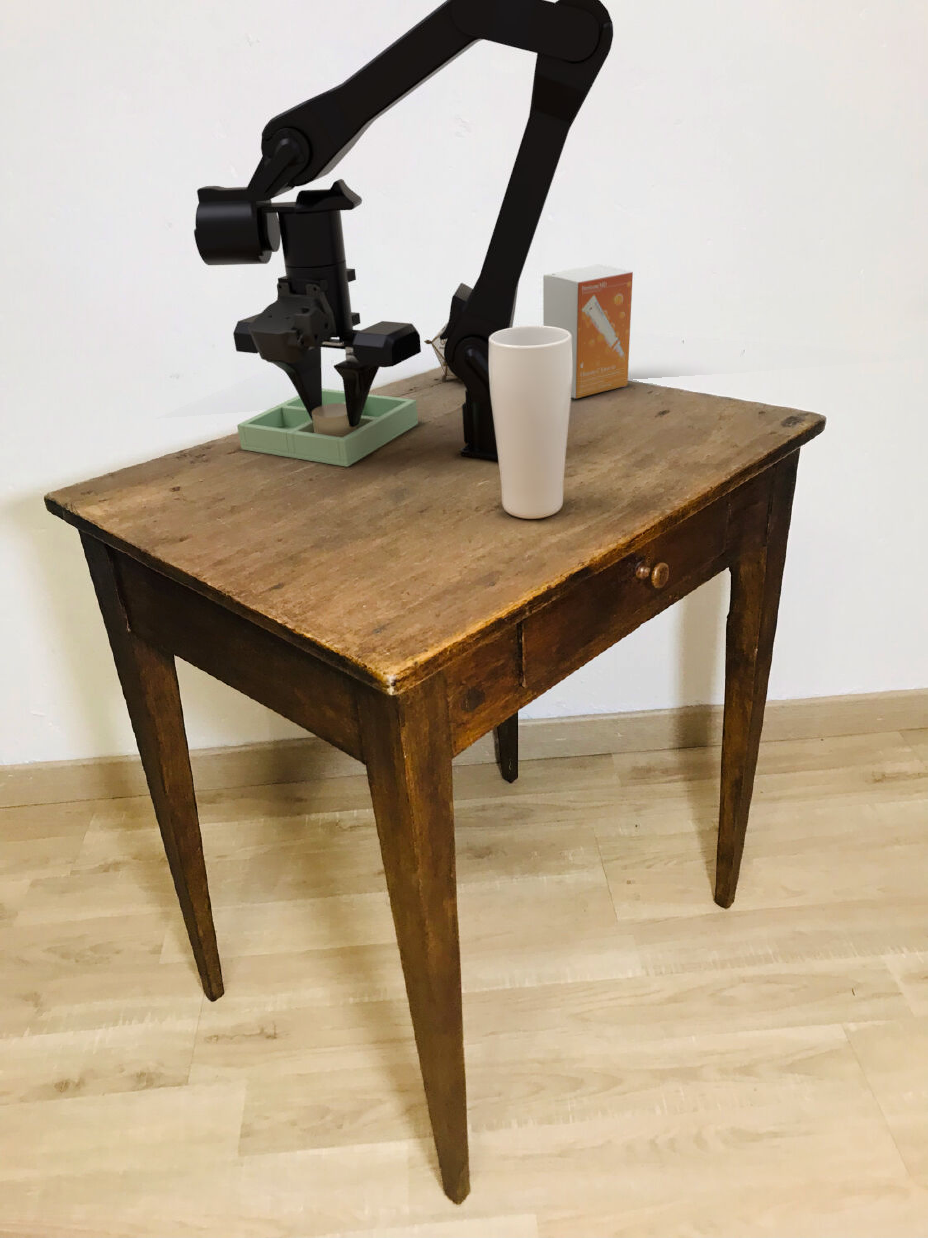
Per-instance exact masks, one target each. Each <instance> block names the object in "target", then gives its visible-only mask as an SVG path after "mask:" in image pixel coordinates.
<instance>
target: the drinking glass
mask: <svg viewBox="0 0 928 1238" xmlns="http://www.w3.org/2000/svg"><path fill="white" fill-rule="evenodd" d="M488 361H489V385H490V396H491V405H492V413H493V421H494V428H495V436H496V445H497V453H498V460H497V461H498V467H499V468H498V469H499V477H500V488H501V489H500V490H501V491H500V493H501V505H502V508H503V509H504V511H505V512H506V513H508V514H509V515H511V516H513V517H515V518H520V519H527V520H532V519H533V520H535V519H543V518H547V517H550V516H553V515H555V514H557V513H558V512H559V511H560V510H561V509H562V507H563V504H564V483H565V482H564V481H565V471H566V469H565V468H566V458H567V446H568V438H569V437H568V435H569V426H570V416H571V405H572V397H571V394H572V372H573V362H572V336H571V333H570V332H568V331H567V330H565V329H561V328H557V327H551V326H543V325H522V326H521V325H520V326H513V327H512V328H507V329H503V330H500V331H497V332H495V333H493V334H492V335H490V337H489V355H488Z"/></svg>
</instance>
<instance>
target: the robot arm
mask: <svg viewBox="0 0 928 1238" xmlns="http://www.w3.org/2000/svg"><path fill="white" fill-rule="evenodd" d="M613 38H614V25H613V20H612V18H611V15H610V12H609V9H607V7H606V6H605V5H604V4H603V2H602V1H601V0H556V1H555V2H553V1H550V0H445V1H444V2H442V3H441V4H440V5H439V6H437V7H436V8H435V9H434V10H433V11H431V12H430V13H429V14H428V15H426V16H425V17H424V18H423V19H421V20H420V21H419V22H418V23H416V24H415V25H414V26H413V27H411V28H410V29H408V30H407V31H406V32H405V33H404V34H403V35H401V36H400V37H399V38H397V39H396V40H395V41H393V42H392V43H391V44H390V45H388V46H387V47H386V48H384V49H383V50H382V51H381V52H380V53H378V54H377V55H376V56H375V57H373V58H372V59H371V60H370V61H368V62H367V63H366V64H365V65H364V66H362V67H360V69H359V70H357V71H356V72H354V73H353V74H352V75H350V77H348V78H347V79H345V80H344V81H343V82H342V83H340V84H338V85H336V86H334V87H332V88H330V89H328V90H326V91H324V92H322V93H320V94H317V95H315V96H313V97H311V98H309V99H306V100H304V101H302V102H301V103H298V104H296V105H295V106H293V107H291V108H289V109H286V110H285V111H283V112H281V113H279V114H277V115H275V116H273V117H272V118H271V119H270V120H269V121H268V122H267V123H266V125H264V127H263V130H262V131H261V142H260V150H261V158H260V161H259V162H258V165H257V166H256V169H255V170H254V172H253V174H252V176H251V179H250V181H249V182H248V185H247V186H237V187H235V186H234V187H224V186H220V185H205V186H203V187H199V188H198V189H197V190H196V194H197V199H198V204H197V206H196V210H195V211H196V212H195V220H194V221H195V223H194V224H195V228H194V229H193V236H194V241H195V246H196V248H197V251H198V254H199V256H200V258H201V260H202V261H203V263H204V264H206V265H207V266H235V265H239V266H240V265H267V264H268V263H269V262H270V261H271V258H272V255H273V253H278V251H279V250H280V248H282V255H283V261H284V270H285V275H284V276H280V277H278V278H277V284H276V290H277V298H276V300H275V301H274V302H272V303H270V304H269V305H267V306H266V308H264V309H263V311H261V312H260V313H257V314H254V315H252V316H249V317H246V318H243V319H241V320H238V321H237V322H236V326H235V327H234V330H233V332H232V334H233V335H232V336H233V342H234V346H235V351H236V352H240V353H247V354H248V353H249V354H258V355H259V357H260V359H261V360H263V361H265V362H266V363H269V364H270V363H271V364H273V365H275V366H276V367H278V368H279V369H281V370H282V371H283V372H284V373H285V374H286V376H287V377H288V378H289V380H290V382H291V384H292V385H293V387H294V389H295V391H296V392H297V396H298V395H299V396H300V398H301V400H302V402H303V404H304V406H305V408H306V410H307V412H308V414H309V416H310V418H311V420H312V421H313V419H312V411H313V409H315V408H317V407H319V406H322V388H323V381H322V380H323V377H322V376H323V375H322V348H326V349H335V350H345V355H344V356H345V360H343V361H340V362H338V363H336V364H334V365H333V369H334V370H335V371H336V372H337V373H338V375H339V376H340V377H341V378H342V384H343V391H344V393H345V402H346V410H347V416H348V420H349V425H350V426H351V427H355V426H357V425H358V424H359V422H360V419H361V415H362V412H363V409H364V406H365V403H366V400H367V397H368V394H370V391H371V388H372V386H373V383H374V380H375V378H376V376H377V373H378V372H379V369H380V368H391V367H394V366H397V365H398V364H401V363H402V362H404V361H407V360H409V359H410V358H412V357H415V356H416V355H419V354H420V353H422V346H421V345H422V344H421V335H420V333H419V330H418V329H417V328H416V327H415V325H414V324H413V323H411V322H410V323H409V322H401V321H399V322H397V321H385V320H381V321H379V322H377V323H374V324H372V325H369V326H367V327H365V328H363V329H354V327H355V326H358V325H360V324H361V314H360V312H355V311H354V312H352V305H351V296H350V285H349V283H351V282H354V281H356V280H357V275H356V268H348V266H347V258H346V249H345V241H344V240H345V239H344V232H343V231H344V230H343V221H342V220H343V219H342V211H353V210H354V209H356V208H358V207H359V206H360V205H361V204H362V203H363V198H362V197H361V196H360V195H359V194H357V193H356V192H355V191H353V190H352V189H351V188H350V187H349V186H348V185H347V183H346V182H345V180H344V179H342V178H339V179H337V180H335V181H334V182H333V183H332V185H331V187H329V188H325V189H322V188H321V189H301V190H300V191H298V193H297V195H296V199H295V201H282V202H281V201H279V202H278V201H277V202H272V199H275V198H277V197H279V196H280V195H283V194H285V193H288V192H289V191H292V190H293V189H295V188H296V187H302V186H306V185H308V184H310V183H312V182H314V181H317V180H319V179H321V178H323V177H325V176H327V175H329V174H330V173H331V172H332V171H333V170H334V169H335V168H336V167H337V165H338V164H340V162H342V160H343V159H344V158H345V157H346V155H348V153H350V152H351V150H352V149H353V148H354V147H355V145H356V144H357V143H358V141H359V140H360V139H361V137H362V136H363V135H364V134H365V133H366V131H367V130H368V129H369V128H370V127H371V125H372V124H373V123H374V122H375V121H377V120H378V119H379V118H380V117H382V116H383V115H385V113H386V112H388V111H390V110H391V109H392V108H394V107H395V106H396V105H397V104H398V103H400V102H401V101H403V100H404V99H405V98H406V97H408V96H409V95H410V94H412V93H413V92H414V91H416V90H417V89H419V88H420V87H421V86H422V85H423V84H425V83H426V82H427V81H429V80H430V79H431V78H432V77H434V76H435V75H437V74H438V73H439V72H440V71H442V70H443V69H444V68H446V67H447V66H448V65H450V64H451V63H453V62H454V61H455V60H456V59H458V58H459V57H460V56H461V55H463V54H464V53H465V52H467V51H468V50H469V49H470V48H472V47H473V46H475V45H476V44H477V43H478V42H480V41H481V42H482V41H483V40H484V41H488V42H492V43H496V44H500V45H503V46H507V47H510V48H511V47H512V48H515V49H519V50H523V51H527V52H531V53H535V54H536V59H535V67H534V72H533V80H532V81H533V82H532V89H531V90H532V91H531V97H530V99H531V100H530V107H529V114H528V118H527V122H526V125H525V129H524V131H523V134H522V138H521V140H520V144H519V148H518V150H517V154H516V157H515V160H514V163H513V166H512V170H511V173H510V176H509V180H508V183H507V186H506V189H505V192H504V196H503V199H502V202H501V206H500V207H499V208H500V209H499V211H498V214H497V218H496V222H495V225H494V228H493V232H492V234H491V237H490V241H489V244H488V247H487V251H486V254H485V256H484V260H483V264H482V267H481V270H480V274H479V276H478V278H477V280H476V282H475V283H474V286H473V287H470V286H469V285H467V284H465V283H463V282H460V284H459V285H458V287H457V288H456V290H455V291H454V293H453V295H452V297H451V302H450V308H449V316H448V321H447V323H446V324H447V325H446V324H445V325H446V326H445V325H444V326H445V328H444V330H443V332H442V333H441V335H440V337H439V338H440V340H444V339H447V341H446V343H445V347H444V359H445V362H446V363H447V365H448V367H449V369H450V371H451V372H452V373H453V374H454V375H455V376H456V377H455V378H457V379H459V380H462V382H463V384H464V386H465V390H464V393H465V394H464V397H465V402H463V404H461V415H462V433H463V443H464V444H465V445H464V446H462V447H461V448H460V449H459V453H460V455H461V456H466V457H470V458H471V457H473V458H479V459H484V460H485V459H486V460H492V461H498V453H497V445H496V436H495V428H494V421H493V413H492V405H491V396H490V385H489V361H488V355H489V337H490V335H492V334H493V333H495V332H497V331H500V330H503V329H507V328H512V327H514V319H515V314H516V308H517V307H516V306H517V298H518V290H519V283H520V279H521V276H522V273H523V270H524V267H525V265H526V261H527V258H528V255H529V252H530V249H531V246H532V244H533V240H534V237H535V234H536V231H537V228H538V226H539V222H540V219H541V216H542V214H543V211H544V207H545V204H546V201H547V199H548V196H549V195H548V194H549V192H550V189H551V186H552V183H553V180H554V177H555V174H556V171H557V168H558V166H559V163H560V160H561V156H562V153H563V151H564V147H565V145H566V142H567V138H568V135H569V133H570V129H571V127H572V125H573V123H574V122H575V119H576V117H577V116H578V114H579V112H580V110H581V108H582V106H583V104H584V103H585V101H586V98H587V97H588V95H589V93H590V91H591V89H592V87H593V85H594V83H595V81H596V79H597V77H598V76H599V73H600V72H601V69H602V68H603V66H604V64H605V62H606V61H607V58H608V56H609V54H610V51H611V49H612V45H613Z"/></svg>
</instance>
